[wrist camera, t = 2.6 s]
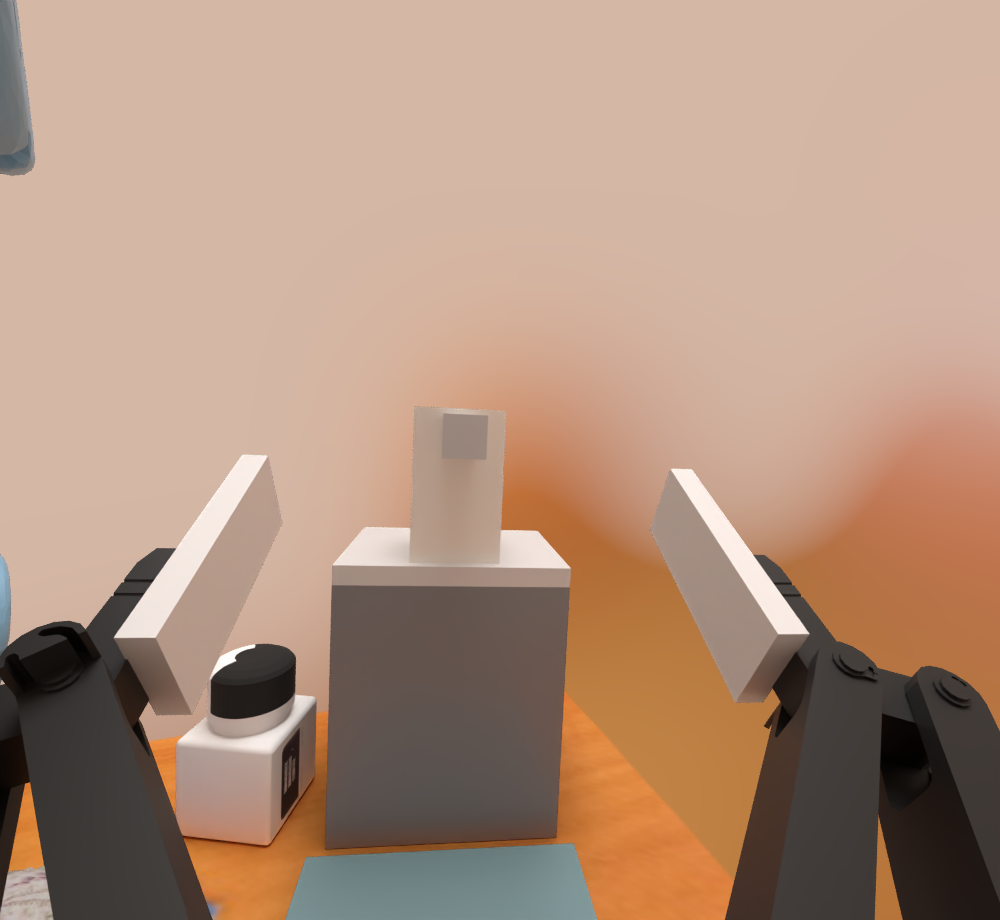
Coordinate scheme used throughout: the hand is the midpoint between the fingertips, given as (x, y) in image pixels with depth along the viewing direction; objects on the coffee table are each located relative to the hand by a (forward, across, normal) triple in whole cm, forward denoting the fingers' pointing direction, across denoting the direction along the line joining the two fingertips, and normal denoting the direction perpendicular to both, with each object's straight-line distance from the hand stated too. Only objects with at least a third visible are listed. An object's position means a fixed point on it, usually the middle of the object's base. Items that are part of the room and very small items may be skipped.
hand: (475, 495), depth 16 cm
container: (+6, -17, -39) cm, 43 cm away
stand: (+8, 0, -40) cm, 40 cm away
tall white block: (+12, 0, -16) cm, 21 cm away
